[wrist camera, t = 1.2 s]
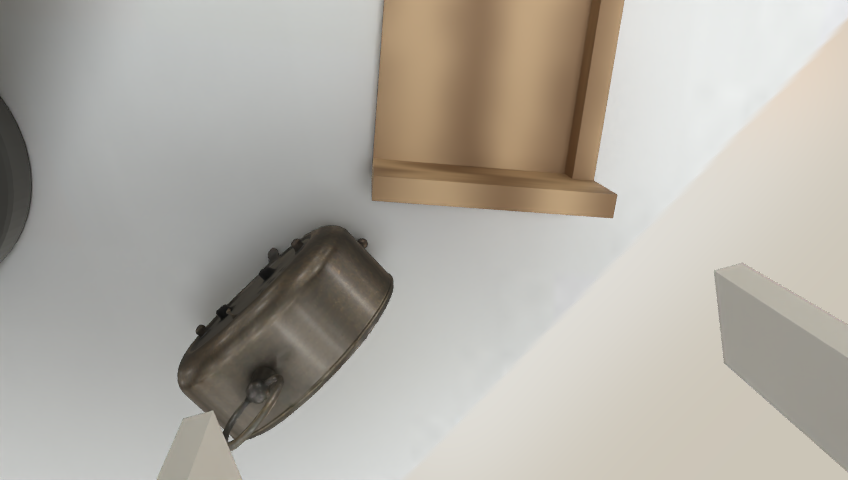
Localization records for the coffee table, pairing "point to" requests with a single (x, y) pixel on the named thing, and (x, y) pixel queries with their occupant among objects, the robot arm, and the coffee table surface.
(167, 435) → the coffee table surface
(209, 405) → the alarm clock
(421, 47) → the wooden rack
